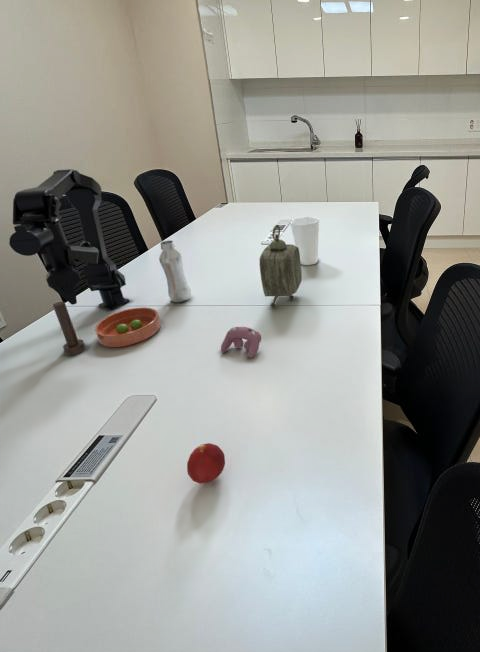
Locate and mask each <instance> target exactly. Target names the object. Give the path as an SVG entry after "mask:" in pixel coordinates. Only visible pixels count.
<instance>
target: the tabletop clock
mask: <svg viewBox="0 0 480 652" xmlns="http://www.w3.org/2000/svg"><path fill="white" fill-rule="evenodd" d="M272 228H273V229H272V239H273V240H272V241H271V242H270V243H269V244H268V245H267V246H266V247H264V249H263V250H262V252H261V254H260V256H259V273H260V280H261V286H262V291H263V295H264V297H274V299H273V302H271V303H270V308H271V309H275V308H276V303H277V300H278V299H279V298H280V297H288V299H289V300H290V301H294V300H295V296H294V294H296V293H297V291H298V289H299V287H300V285H301V283H302V278H303V276H302V264H301V262H300V253H299V248H298V247H296V246H295V244H292V243H291V244H290V243H286V241H284V240H283V239H280V237H281V236H280V235H281V229H280V226H279V225H278V224H275V225H274V227H272ZM276 229H278V233H277V234H275V232H276Z"/></svg>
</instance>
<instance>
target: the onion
mask: <svg viewBox="0 0 480 652" xmlns="http://www.w3.org/2000/svg"><path fill="white" fill-rule="evenodd" d="M225 465H226V457H225V453H224V451H223V450H222V449H221V447H219V445H217V444H214V443H210V442H209V443H208V442H207V443H202V444H199V445H198V446H197V447H195V448H194V449H193V450H192V452H191V453H190V455H189V457H188V460H187V463H186V471H187V475H188V477H189V478H190V479H191V481H193V482H195V483H197V484H207V483H210V482H213V481H215V480H216V479H218V478H219V476H220V475H221V474H222V473H223V471H224V468H225Z"/></svg>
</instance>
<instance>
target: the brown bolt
mask: <svg viewBox="0 0 480 652" xmlns="http://www.w3.org/2000/svg"><path fill="white" fill-rule="evenodd" d="M52 308H53V310H54V312H55V315H56V318H57V320H58V323H59V326H60V328H61V332H62V334H63V337H64V339H65V343H64V345H62V349H63V351H64V354H65V355H66V356H75V355H78V354H81V353H83V352H84V351H86V349H87V348H86V344H85V341H84V340H83V339H79V338H78V336H77V332H76V330H75V327H74V324H73V322H72V319H71V315H70V314H69V311H68V307H67V304H66V302H65V301H58V302H55V303H53V304H52Z"/></svg>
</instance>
